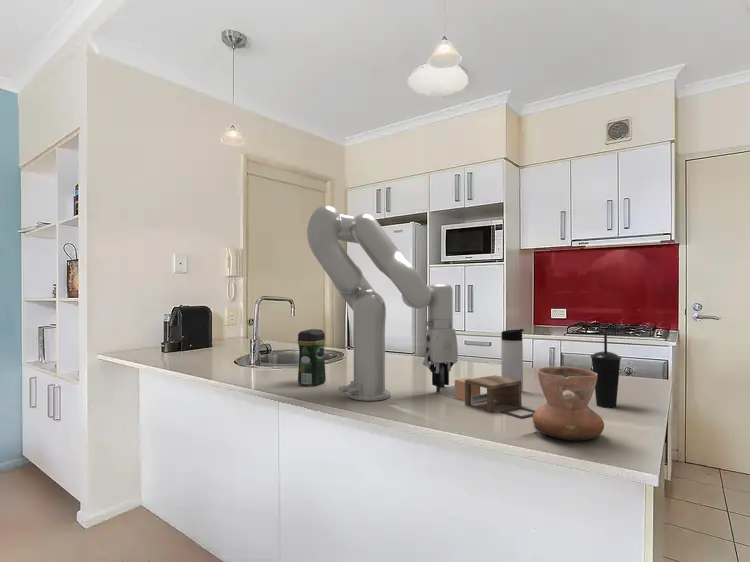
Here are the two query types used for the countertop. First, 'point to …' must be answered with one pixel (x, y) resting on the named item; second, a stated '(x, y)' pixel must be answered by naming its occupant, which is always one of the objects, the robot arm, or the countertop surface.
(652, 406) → the countertop surface
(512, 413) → the dark piece
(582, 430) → the ceramic jug
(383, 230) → the robot arm
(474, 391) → the block
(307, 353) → the coffee jar
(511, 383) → the tunnel
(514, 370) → the travel mug
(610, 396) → the drinking cup
